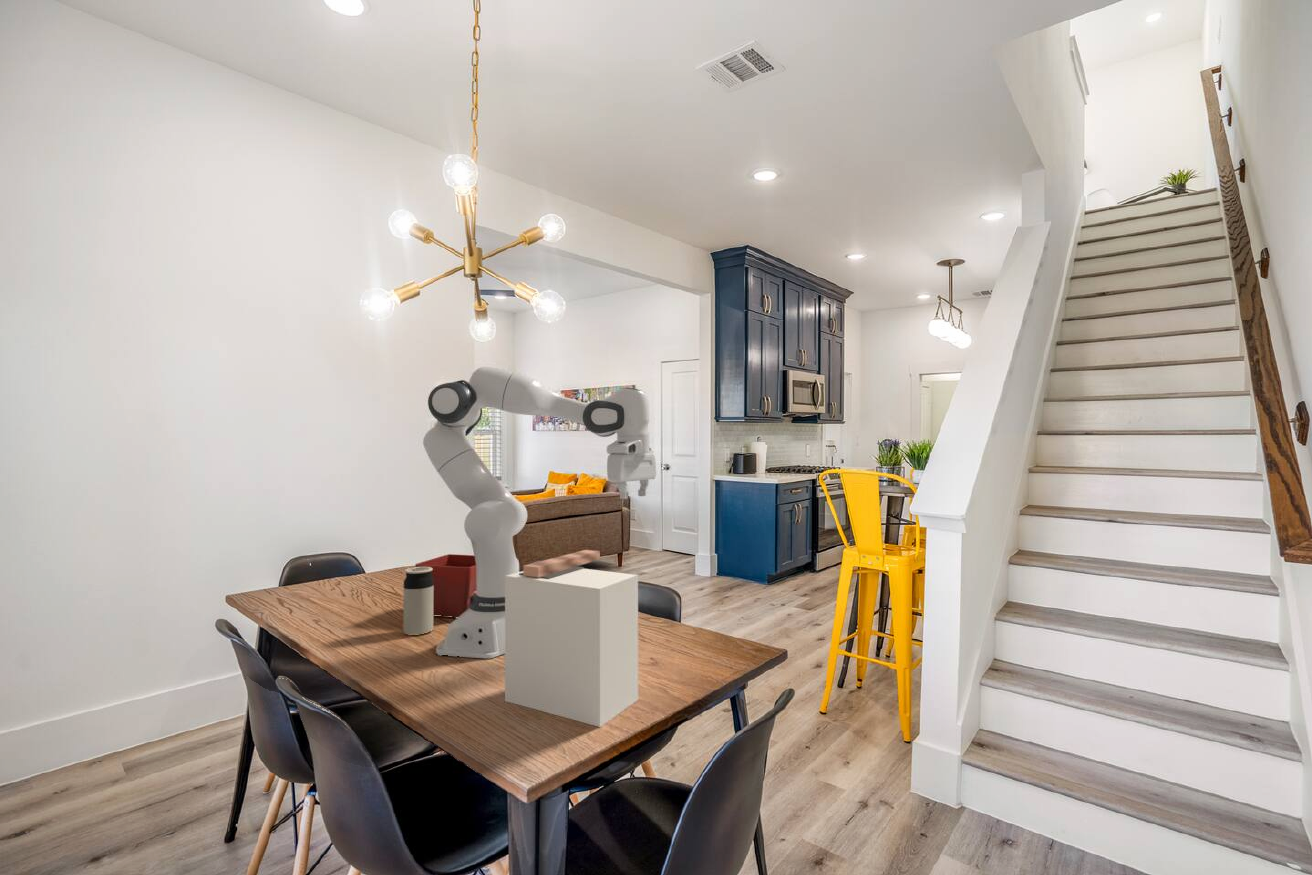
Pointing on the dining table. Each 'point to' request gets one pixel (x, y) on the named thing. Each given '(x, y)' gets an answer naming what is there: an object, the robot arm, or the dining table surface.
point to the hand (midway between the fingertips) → (633, 497)
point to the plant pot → (452, 583)
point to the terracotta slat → (560, 563)
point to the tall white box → (572, 643)
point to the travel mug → (418, 600)
